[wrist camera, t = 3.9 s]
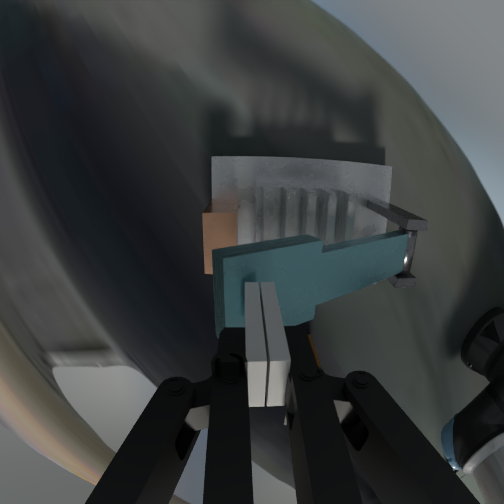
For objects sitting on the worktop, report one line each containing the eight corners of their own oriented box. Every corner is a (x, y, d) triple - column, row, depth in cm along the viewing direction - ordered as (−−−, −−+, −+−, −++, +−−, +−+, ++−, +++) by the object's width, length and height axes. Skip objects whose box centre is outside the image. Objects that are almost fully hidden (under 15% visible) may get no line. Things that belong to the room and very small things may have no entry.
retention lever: (406, 218, 26) (422, 222, 24) (397, 271, 28) (411, 278, 27) (210, 248, 16) (224, 259, 15) (215, 333, 18) (227, 350, 17)
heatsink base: (385, 165, 33) (438, 175, 22) (371, 277, 38) (409, 322, 27) (213, 156, 33) (196, 158, 21) (216, 278, 38) (204, 331, 27)
